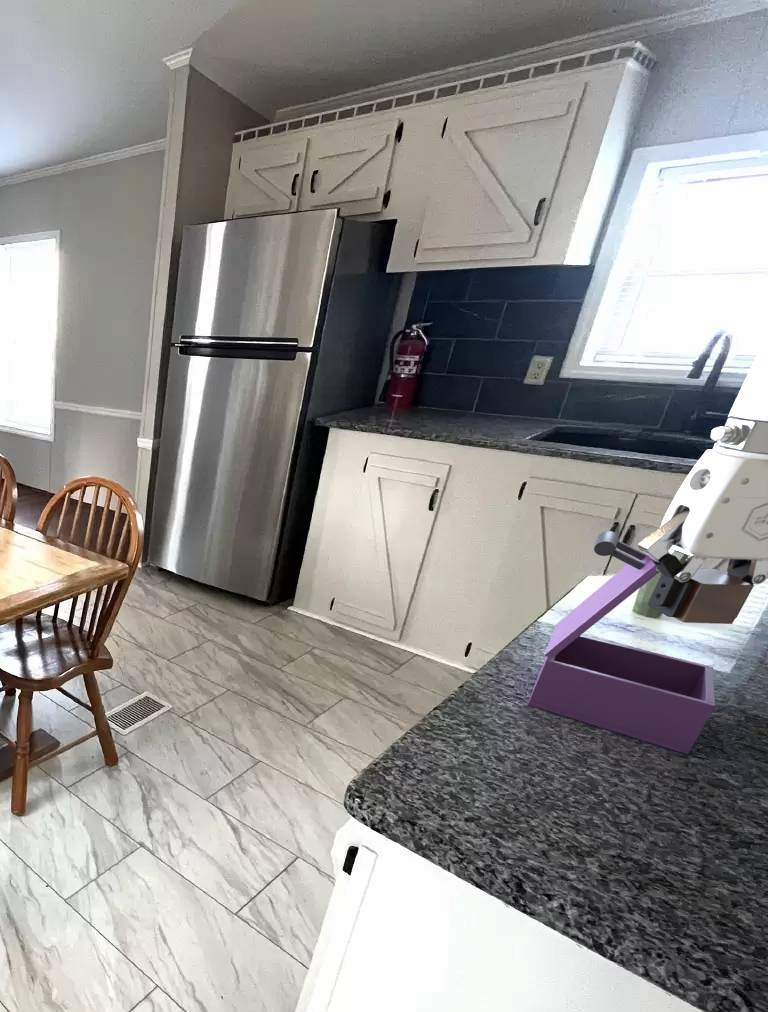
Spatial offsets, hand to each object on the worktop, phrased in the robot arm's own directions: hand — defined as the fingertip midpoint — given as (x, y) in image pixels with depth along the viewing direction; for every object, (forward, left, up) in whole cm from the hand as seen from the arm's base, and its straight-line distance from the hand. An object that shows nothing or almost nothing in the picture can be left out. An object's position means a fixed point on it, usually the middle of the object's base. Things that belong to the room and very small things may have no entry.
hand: (690, 610), depth 67 cm
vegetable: (+18, -37, -18) cm, 45 cm away
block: (0, 0, 0) cm, 0 cm away
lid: (+9, -5, -3) cm, 10 cm away
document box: (+5, -6, -17) cm, 19 cm away
